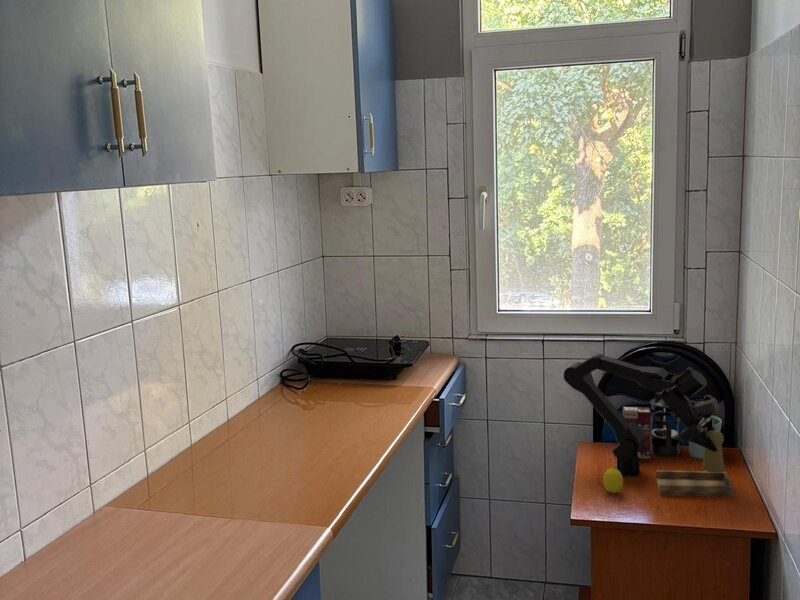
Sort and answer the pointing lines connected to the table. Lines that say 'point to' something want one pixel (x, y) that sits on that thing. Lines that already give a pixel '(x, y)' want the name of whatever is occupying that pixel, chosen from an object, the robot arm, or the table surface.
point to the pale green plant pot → (697, 449)
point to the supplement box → (644, 422)
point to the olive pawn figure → (714, 454)
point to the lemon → (613, 480)
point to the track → (694, 483)
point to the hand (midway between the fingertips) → (718, 447)
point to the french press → (663, 432)
